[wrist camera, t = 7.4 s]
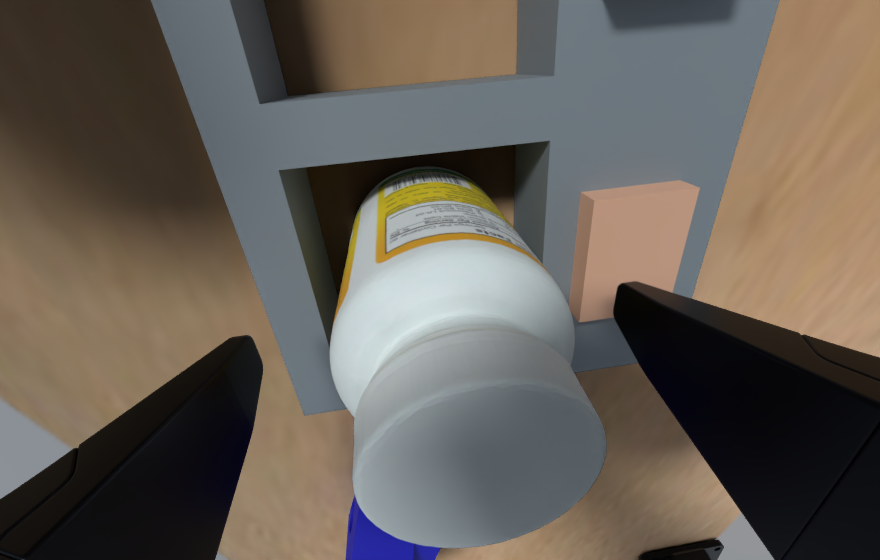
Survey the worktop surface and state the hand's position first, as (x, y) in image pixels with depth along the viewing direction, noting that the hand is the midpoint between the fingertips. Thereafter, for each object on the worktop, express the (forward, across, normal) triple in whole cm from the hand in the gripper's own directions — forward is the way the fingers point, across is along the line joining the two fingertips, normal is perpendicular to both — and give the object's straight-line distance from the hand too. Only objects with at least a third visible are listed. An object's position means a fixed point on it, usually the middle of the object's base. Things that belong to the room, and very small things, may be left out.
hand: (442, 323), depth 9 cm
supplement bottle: (+6, 0, 0) cm, 6 cm away
